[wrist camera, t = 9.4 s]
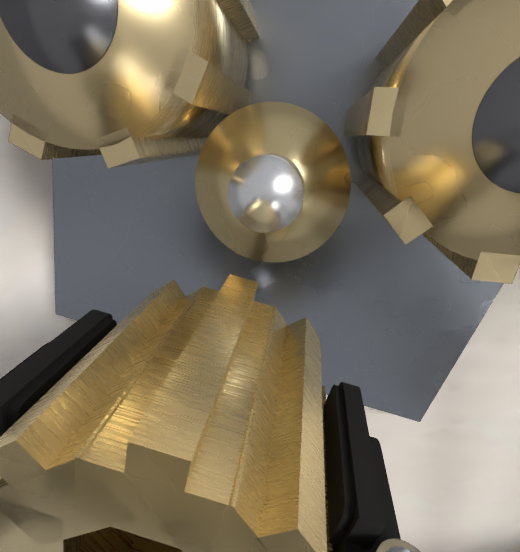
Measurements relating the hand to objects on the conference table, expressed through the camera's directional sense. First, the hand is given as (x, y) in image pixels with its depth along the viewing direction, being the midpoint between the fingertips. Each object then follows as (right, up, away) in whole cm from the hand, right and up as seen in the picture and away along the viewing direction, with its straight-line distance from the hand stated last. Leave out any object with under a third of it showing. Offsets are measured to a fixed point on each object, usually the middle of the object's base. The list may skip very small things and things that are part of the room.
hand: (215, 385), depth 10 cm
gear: (0, 0, +1) cm, 1 cm away
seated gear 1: (-2, +12, +2) cm, 12 cm away
